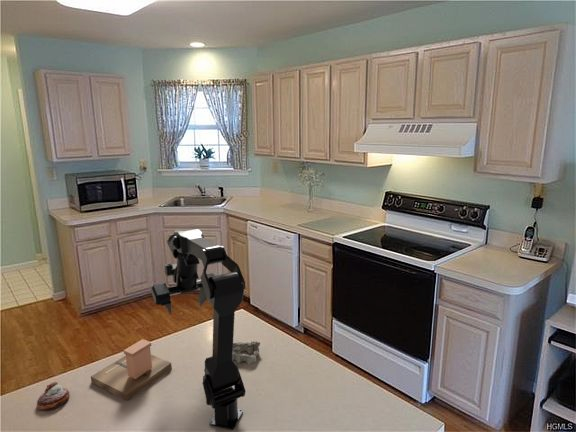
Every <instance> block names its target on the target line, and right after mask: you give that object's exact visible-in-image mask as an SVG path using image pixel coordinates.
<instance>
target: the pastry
mask: <svg viewBox="0 0 576 432" xmlns="http://www.w3.org/2000/svg"><path fill="white" fill-rule="evenodd" d="M70 394H71V393H70V390H68V388H66V387H65V388H64V387H62V385H61V384H60V383H58V382H57V381H54V382H51V383H50V384H47V385H46V388H45V389H44V392H42V393H41V395H40V396H39V397H38V399H37V401H36V408H37V410H38V411H41V412H42V411H51V410H55V409H58V407H61V406H62V405H64V404H66V403H67V401H69V399H70Z"/></svg>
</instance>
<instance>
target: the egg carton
mask: <svg viewBox="0 0 576 432" xmlns="http://www.w3.org/2000/svg"><path fill="white" fill-rule="evenodd" d="M260 345H261V342H258V341H251V342H241V341H240V342H233V356H232V359H233V360H235V361H236V363H241V362H246V363H247V364H248V365H251V364H252V363H256V362H257V357H259V356H260ZM244 351H246V352H247V353H248V354H244V353H241V352H244ZM252 353H253V354H252ZM250 354H251V355H250Z"/></svg>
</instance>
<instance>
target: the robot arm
mask: <svg viewBox="0 0 576 432" xmlns="http://www.w3.org/2000/svg"><path fill="white" fill-rule="evenodd" d="M166 244H167V246H168V248H169V250H170V252H171V254H172V256H173V258H174V259H176V263H167V264H166V263H165V264H164V273H165V275H166V277H171V276H172V277H173V279H172V281H173V283H174V284H175V286H171V287H170V286H169V287H168V286H167V283H166V282H165V283H158V284H153V285H152V286H151V288H150V292H151V296H152V298H153V300H154V301H153V302H155V305H158V306H165V308H166V309H167V311H168V314H169V315H171V314H172V311H173V310H172V301H171V297H172V296H176V295H180V294H184V293H189V292H193V291H196V290H199V295H198V306H199V307H202V306H203V304H204V303H205V302H206V301H208V302H209V304H210V305H211V307H212V309H213V314H212V315H213V317H212V318H213V321H212V356H209V357H206V358H205V360H204V370H203V371H204V375H203V376H202V382H201V383H202V387H203V391H204V395H205V404H206V406H210V407H211V408H212V409H213V410H214V414H213V415H212V418H211V419H210V420H209V423H208V424H209V425H210V426H213V427H218V428H224V429H227V430H234V429H235V428H236V426H237V424H238V422H239V420H240V418H241V416H242V414H243V412H244V410H243V409H241V408H238V407H239V406H238V399H240V398H243V397H245V396H246V388H245V385H244V382H243V379H242V376H241V372H240V370H239V367H238V365H237V364H236V362H235V361H234V360H235V359H232V356H233V343H234V336H235V335H234V333H235V330H234V329H235V313H236V310H237V309H238V307H240V305H241V304H242V303H243V298H244V295H245V290H246V281H245V279H244V276H243V273H242V271H241V268H240V266H239V265H238V263H237V262H235V261H234V260H233V259H232V258H231V257H229V256H228V254H227V252H226V249H225V247H224V246H223V245H220V244H219V245H217V244H215V243H214V242H211V241H210V240H207V239H206V238H205V237H204V233H203V232H202V231H201V230H200V229H199V228H195V229H194V228H193V229H186V230H181V229H178V230H174V231H173V234H172V235H170V236H169V237H168V239H167V241H166ZM200 260H201V262H202V264H203V265H202V266H203V269H202V274H201V275H200V279H199V275H198V267H199V266H198V265H199V264H200ZM219 263H221V264H222V266H223V267H224V268H226V269H227V270H228V271H229V272H227V273H224V274H218V275H215V274H214V273H213V272H211V273H207V270H208V267H209V266H210V265H216V264H219ZM198 279H199V280H198Z"/></svg>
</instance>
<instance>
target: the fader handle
mask: <svg viewBox="0 0 576 432" xmlns="http://www.w3.org/2000/svg"><path fill="white" fill-rule="evenodd" d="M151 347H152V342H151V341H149V340H146V339H143V338H142V339H140V340H138V341H137V342H136V343H133V344H131V346H129V347H127V348H125V349H123V354H124V355H125V356H126V363H127V372H128V376H129V377H131V378H133V379H137V378H138V377H140V376H141V375H142V374H144V373H145V372H147V371H148V370H150V369H151V368H152V361H151V355H152V354H151V353H152V351H151Z"/></svg>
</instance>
